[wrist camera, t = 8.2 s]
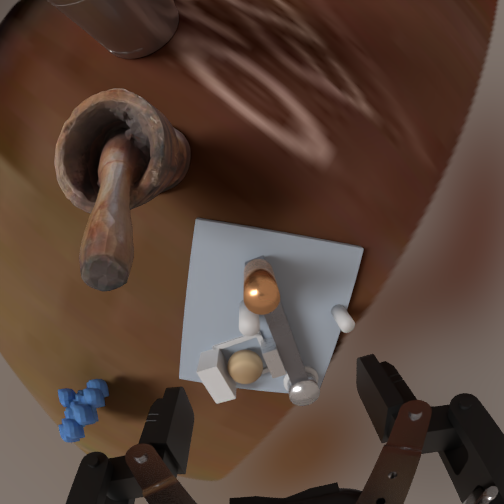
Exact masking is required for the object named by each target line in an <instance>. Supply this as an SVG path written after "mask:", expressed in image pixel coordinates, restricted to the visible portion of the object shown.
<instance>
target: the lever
mask: <svg viewBox="0 0 504 504" xmlns="http://www.w3.org/2000/svg"><path fill="white" fill-rule="evenodd" d="M243 298H244V304H245V306H246V307H247V309H248V310H249V311H251V312H253V313H255V314H259V315H264V317H265V319H266V322H267V324H268V327H269V329H270V332H271V334H272V337H270V338H267V339H264V340H261V349H262V355H263V358H264V360H265V362H266V364H267V367H268V369H269V371H270V373H271V376H272V378H273V379H274V378H277V377H280V376H283V375H286V374H288V376H289V380H288V382H287V387H288V392H289V397H290V400H291V402H292V403H293V404H295V405H299V406H305V405H309V404H311V403H313V402H315V401H316V400H317V399H318V397H319V395H320V390H319V387H318V384H317V381H316V378H315V376H314V375H313V374H312V373H309V372H306V369H305V367H304V364H303V361H302V358H301V356H300V353H299V350H298V347H297V345H296V342H295V339H294V336H293V334H292V331H291V328H290V325H289V323H288V320H287V317H286V314H285V312H284V309H283V306H282V303H281V301H280V292H279V289H278V286H277V282H276V279H275V275H274V272H273V269H272V266H271V265H270V263H269V262H267V261H266V260H265V257H264V255H262V256H260V257H257V258H254V259H251V260H248V261H246V262H245V268H244V295H243ZM286 371H287V373H286Z"/></svg>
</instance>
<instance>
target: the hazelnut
mask: <svg viewBox="0 0 504 504" xmlns="http://www.w3.org/2000/svg"><path fill="white" fill-rule="evenodd" d="M227 369H228V373H229V375H230V377H231V378H232V379H233V380H234V381H236V382H238V383H241V384H250V383H253V382H255V381H256V380H257V379H258V378H259V377H260V376H261V374H262V371H263V362H262V360H261V358H260V356H259V355H258V354H257V353H255V352H253V351H251V350H239V351H237V352H235V353H234V354H233V355H232V356H231V357H230V359H229V361H228V365H227Z"/></svg>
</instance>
